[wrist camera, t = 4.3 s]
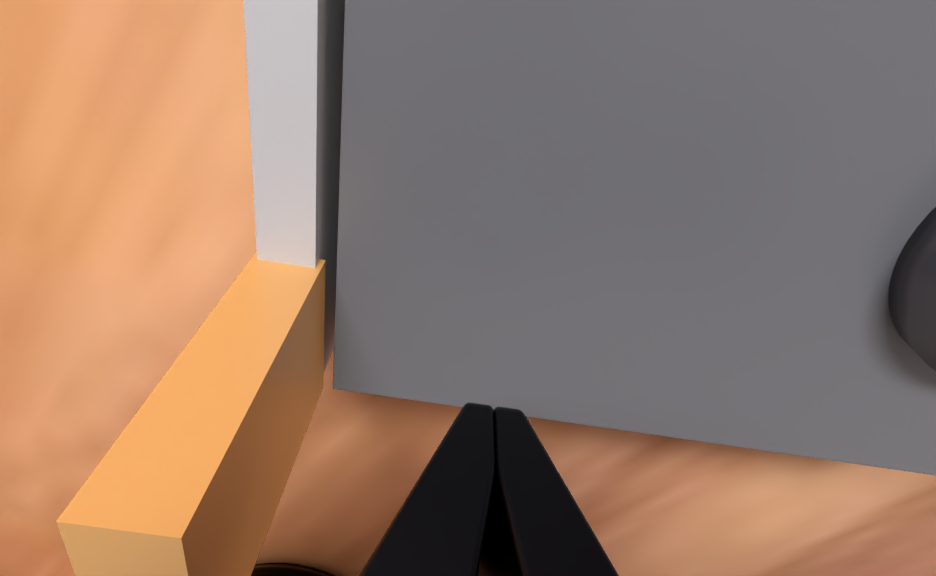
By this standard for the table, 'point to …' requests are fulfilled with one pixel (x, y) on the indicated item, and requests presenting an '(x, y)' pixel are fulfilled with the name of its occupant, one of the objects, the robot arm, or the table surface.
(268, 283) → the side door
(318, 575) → the supplement container
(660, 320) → the box with round button
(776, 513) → the table surface
